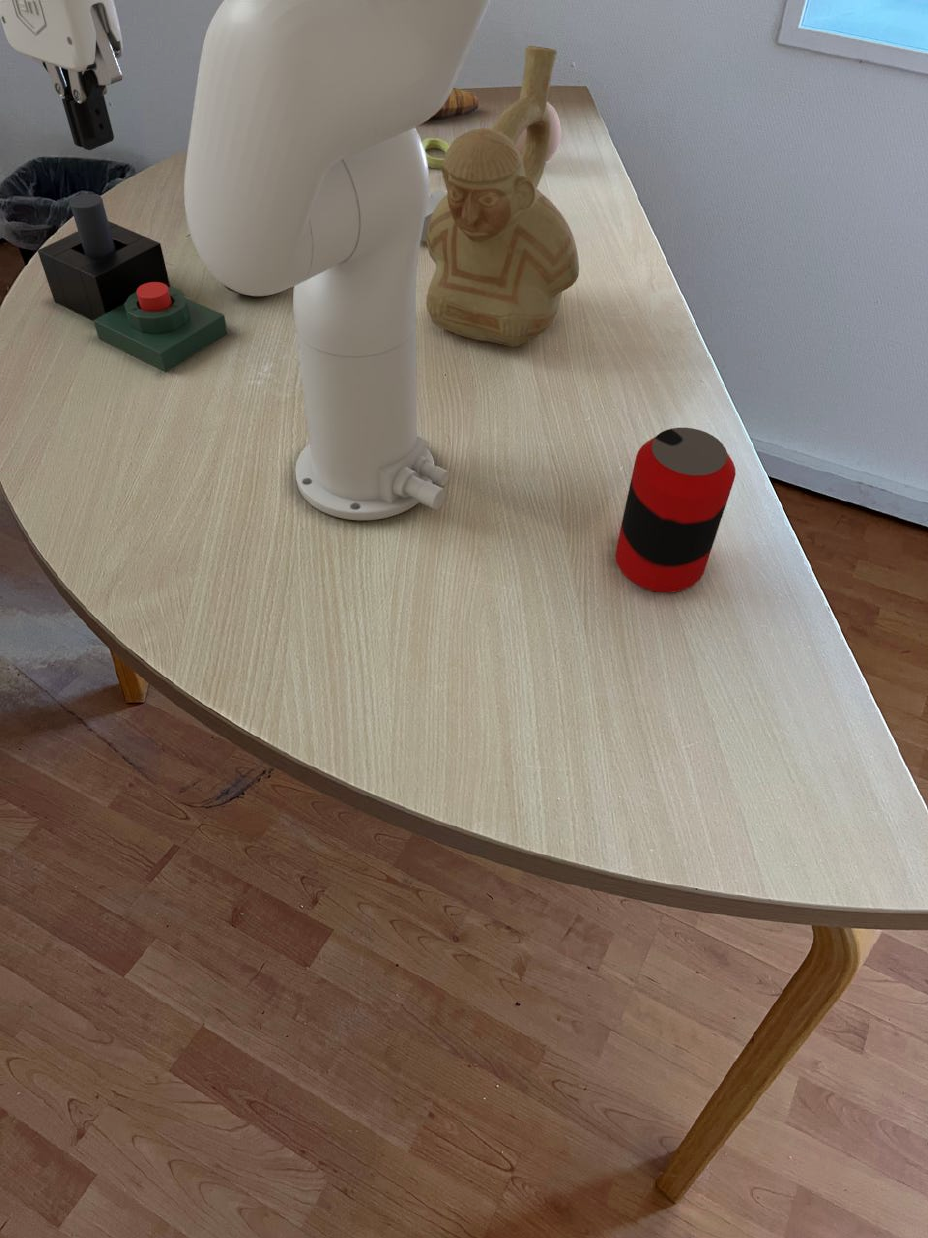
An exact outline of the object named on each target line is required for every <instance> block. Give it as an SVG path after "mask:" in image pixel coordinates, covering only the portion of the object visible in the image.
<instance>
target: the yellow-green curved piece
mask: <svg viewBox="0 0 928 1238" xmlns="http://www.w3.org/2000/svg"><path fill="white" fill-rule="evenodd" d="M421 141H422V143H423V146H424V149H425V153H426V158H427V163H428V168H432V169H438V170H439V169H441V165H442V164H443V163H444V158H445V157H442V158H441V157H440V158H439V157H434V156H431V155H429V154H428V153H427V150H428V149H436V150H437V149H438V150H441V151H443V152H444V153H445V154H446V152H447V150H448V149H449V147H450V145H451V144H449V143H448V142H447V141H445V140H443V139H441V138H437V137H436V138H435V137H428V138H424V139H423V140H421Z"/></svg>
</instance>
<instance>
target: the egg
mask: <svg viewBox="0 0 928 1238" xmlns="http://www.w3.org/2000/svg"><path fill="white" fill-rule="evenodd" d="M547 108H548V110H549V114H550V123H551V133H550V146H549V151H548V155H547V160H546V163H547V162H548V161H549V160H550V159H552V158H553V156H554V155H555V154H556V152H557V151H558V149H559V146H560V144H561V137H562V126H561V121H560V118H559V115H558V113H557V111H556V110H555V108H554V107H553V105H551V103H550V102H549V101H547ZM526 134H527V130H526V128H525V129H524V131H523V132H522V134H521V135H520V137H519V139H518V141H517V143H516V145H515V146H516V147H517V148H518V150H519V152H520V154H521V157H522V154H523V151H524V147H525V143H526Z"/></svg>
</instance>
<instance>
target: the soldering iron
mask: <svg viewBox="0 0 928 1238" xmlns="http://www.w3.org/2000/svg"><path fill="white" fill-rule="evenodd" d="M69 205H70V209H71V212H72V215H73V219H74V222H75V225H76V229H77V231H78V233H79V236H80V239H81V243H82V246H83V249H84V253H85V255H86V256H88V257H90V258H92V259H95V260H97V261H98V260H100V259H102V258H104V257H106V256H108V255H110V254H112V253H114V252H116V249H115V245H114V242H113V238H112V234H111V230H110V227H109V223H108V221H109V219H108V216H107V212H106V208H105V205H104V200H103V198H102V196H100V195H99V194H96V193H82V194H77V195H75V196H73V197H72V198H71V199H70V201H69Z"/></svg>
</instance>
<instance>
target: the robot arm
mask: <svg viewBox="0 0 928 1238" xmlns="http://www.w3.org/2000/svg"><path fill="white" fill-rule="evenodd" d="M490 3H491V0H223V1H222V2H221V4H220V5H219V6H218V8H217V10H216V12H215V13H214V15H213V16H212V18H211V21H210V23H209V25H208V27H207V29H206V33H205V35H204V36H205V37H204V39H203V43H202V50H201V56H200V60H199V67H198V73H197V74H198V75H197V82H196V87H195V88H196V89H195V95H194V101H193V102H194V103H193V110H192V117H191V124H190V130H189V131H190V132H189V138H188V147H187V152H186V161H185V169H184V178H183V179H184V180H183V192H184V193H183V201H184V202H183V204H184V211H185V218H186V224H187V227H188V232H189V234H190V238H191V241H192V244H193V246H194V249H195V251H196V253H197V255H198V257H199V258H200V260H201V262H202V263H203V264H204V267H205V268H206V269H207V270H208V271H209V272H210V274H211V275H212V276H213V277H214V278H215V279H216V280H217V281H218V282H219V283H221V284H222V285H223V286H224V285H225V286H226V287H228V288H230V289H232V290H234V291H236V292H238V293H241V294H240V295H244V294H245V296H248V295H250V296H249V297H254V296H255V297H265V296H270V295H275V294H279V293H281V292H284V291H286V290H289V289H291V288H293V293H292V294H293V295H292V309H293V310H292V311H293V319H294V320H293V321H294V329H295V336H296V344H297V352H298V360H299V368H300V376H301V385H302V393H303V394H302V395H303V401H304V411H305V417H306V418H305V419H306V427H307V434H308V441H309V442H308V444H306V445H305V446H304V448H303V449H302V450H301V452H300V453H299V455H298V458H297V459H296V461H295V462H296V463H295V469H294V473H295V480H296V485H297V488H298V491H299V492H300V494H301V496H302V497H303V498H304V499H305V501H307V503H309V504H310V505H311V506H312V507H313V508H315V509H317V510H319V512H322V513H325V514H326V515H330V516H332V517H336V518H340V519H344V520H350V521H377V520H382V519H383V520H384V519H388V518H390V517H394V516H397V515H401V514H402V513H404V512H407V511H409V510H410V509H411V508H413V507H415V506H416V505H418V504H419V503H421V504H423V505H425V506H426V507H429V508H430V509H433V510H434V511H435V510H436V511H437V510H439V509H440V508H441V507H442V506H443V505H444V503H445V501H446V497H447V490H446V489H445V488H443V487H441V486H446V484H448V482H449V480H450V477H451V472H450V471H448V470H446V469H444V468H442V467H440V466H437V465H435V461H434V457H433V455H432V452H431V450H430V449H429V448H428V441H427V440H426V439H424V438H422V437H420V436H418V398H417V397H418V396H417V395H418V394H417V391H418V390H417V384H418V383H417V275H418V264H419V263H418V261H419V254H420V247H421V241H422V240H421V236H422V231H423V226H424V220H425V215H426V209H427V202H428V197H429V190H430V172H429V166H428V163H427V158H426V153H427V152H426V153H425V151H426V150H425V149H424V146H423V143H422V141H423V140H422V139H421V136H420V134H419V132H418V130H417V129H416V127H419V126H420V125H422V124H423V123H425V122H427V121H429V120H431V119H430V118H431V117H432V116H434V115H435V114H436V113H437V112H438V111H439V110H440V109H441V108H442V106H443V105H444V104H445V102H446V101H447V99H448V97H449V95H450V94H451V92H452V90H453V88H455V85H456V83H457V81H458V78H459V77H460V74H461V72H462V69H463V67H464V64H465V62H466V60H467V59H468V56H469V53H470V51H471V49H472V46H473V44H474V41H475V38H476V36H477V34H478V32H479V29H480V27H481V24H482V22H483V20H484V17H485V15H486V13H487V11H488V8H489V6H490ZM0 22H1V25H2V29H3V32H4V34H5V37H6V40H7V42H8V44H9V46H11V48H13V50H15V51H16V52H18V53H19V54H21V55H23V56H27V57H28V58H31V60H33V61H35V62H36V63H37V64H39V65H40V66H42V67H43V68H44V69H45V70H46V72H47V73H48V75H49V78H50V80H51V83H52V86H53V88H54V92H55V93H56V94H57V95H58V97H60V98H61V101H62V105H63V108H64V112H65V115H66V119H67V122H68V126H69V129H70V134H71V137H72V140H73V143H74V145H75V146H76V147H79V148H83V149H84V150H87V151H92V150H94V149H97V148H99V147H101V146H104V145H106V144H109V143H111V142H113V141H114V140H115V133H114V130H113V127H112V122H111V119H110V115H109V111H108V107H107V104H106V98H105V95H107V93H108V88H107V86H111V85H113V84H115V83H119V82H121V81H122V80H123V73H122V71H121V68H120V66H119V63H118V59H120V58H122V56H123V52H124V45H123V43H124V42H123V36H122V32H121V26H120V22H119V18H118V12H117V9H116V4H115V1H114V0H0ZM225 286H224V287H225ZM226 287H225V288H226ZM238 293H237V294H238ZM434 483H436V484H434ZM437 484H438V485H440V486H438V485H437Z"/></svg>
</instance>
